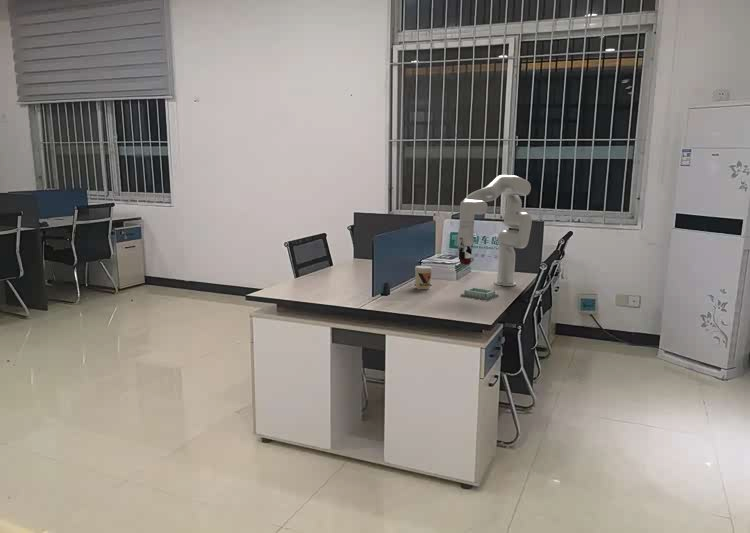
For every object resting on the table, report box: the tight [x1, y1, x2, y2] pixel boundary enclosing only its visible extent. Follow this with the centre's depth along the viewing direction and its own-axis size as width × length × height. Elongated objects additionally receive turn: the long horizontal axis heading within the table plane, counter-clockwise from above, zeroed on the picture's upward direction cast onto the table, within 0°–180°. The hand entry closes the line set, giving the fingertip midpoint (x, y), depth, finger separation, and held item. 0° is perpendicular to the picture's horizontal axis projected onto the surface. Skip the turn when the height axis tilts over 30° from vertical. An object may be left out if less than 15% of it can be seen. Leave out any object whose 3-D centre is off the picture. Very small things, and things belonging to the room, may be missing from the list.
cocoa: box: [459, 250, 475, 265], centre depth 305 cm, size 10×6×12 cm, turn 78°
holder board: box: [460, 286, 500, 301], centre depth 303 cm, size 14×15×3 cm
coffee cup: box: [414, 265, 433, 290], centre depth 319 cm, size 9×9×12 cm
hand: (465, 257), depth 306 cm, fingers closed on cocoa, 6 cm apart
